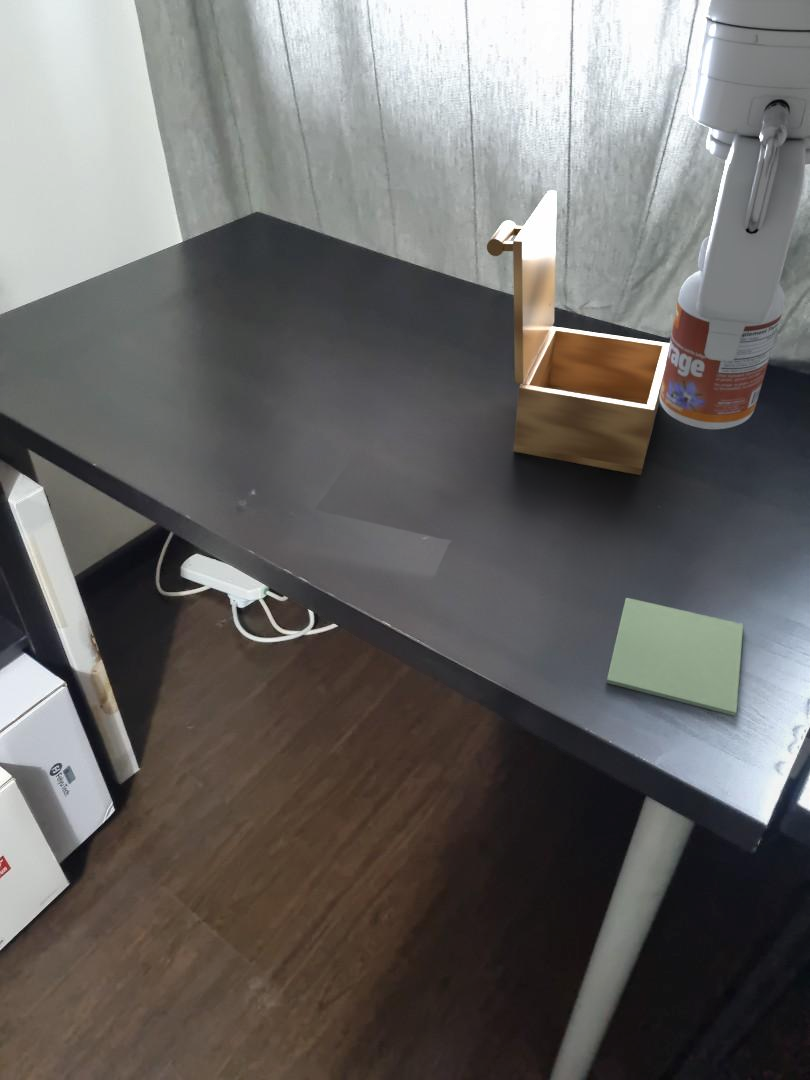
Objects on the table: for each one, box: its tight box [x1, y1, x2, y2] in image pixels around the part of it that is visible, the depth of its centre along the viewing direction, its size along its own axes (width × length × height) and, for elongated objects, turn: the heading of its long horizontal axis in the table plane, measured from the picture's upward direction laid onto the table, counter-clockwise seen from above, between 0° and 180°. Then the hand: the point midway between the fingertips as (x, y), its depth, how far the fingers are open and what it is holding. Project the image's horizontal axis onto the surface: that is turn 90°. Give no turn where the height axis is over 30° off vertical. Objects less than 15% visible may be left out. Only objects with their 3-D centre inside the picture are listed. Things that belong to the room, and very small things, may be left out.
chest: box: [513, 326, 670, 476], centre depth 84 cm, size 13×14×7 cm
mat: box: [606, 597, 744, 717], centre depth 62 cm, size 9×9×1 cm
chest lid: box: [486, 190, 557, 384], centre depth 79 cm, size 13×14×4 cm
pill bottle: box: [659, 235, 786, 430], centre depth 52 cm, size 6×6×11 cm
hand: (724, 327), depth 52 cm, fingers closed on pill bottle, 6 cm apart
